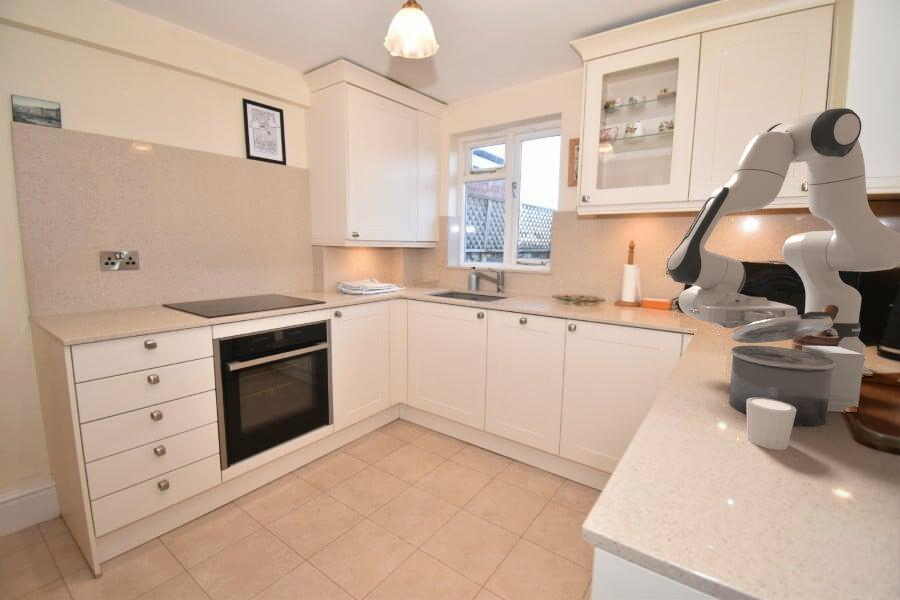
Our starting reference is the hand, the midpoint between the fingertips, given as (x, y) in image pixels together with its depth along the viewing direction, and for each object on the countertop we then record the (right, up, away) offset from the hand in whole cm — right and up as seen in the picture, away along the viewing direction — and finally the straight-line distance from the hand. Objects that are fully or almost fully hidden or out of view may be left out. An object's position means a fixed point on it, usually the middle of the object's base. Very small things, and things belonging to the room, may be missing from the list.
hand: (771, 319), depth 86 cm
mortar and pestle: (+23, -17, +17) cm, 33 cm away
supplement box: (+13, -19, +2) cm, 23 cm away
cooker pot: (0, -19, -1) cm, 19 cm away
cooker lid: (0, -3, -2) cm, 3 cm away
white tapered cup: (-13, -21, -15) cm, 29 cm away
